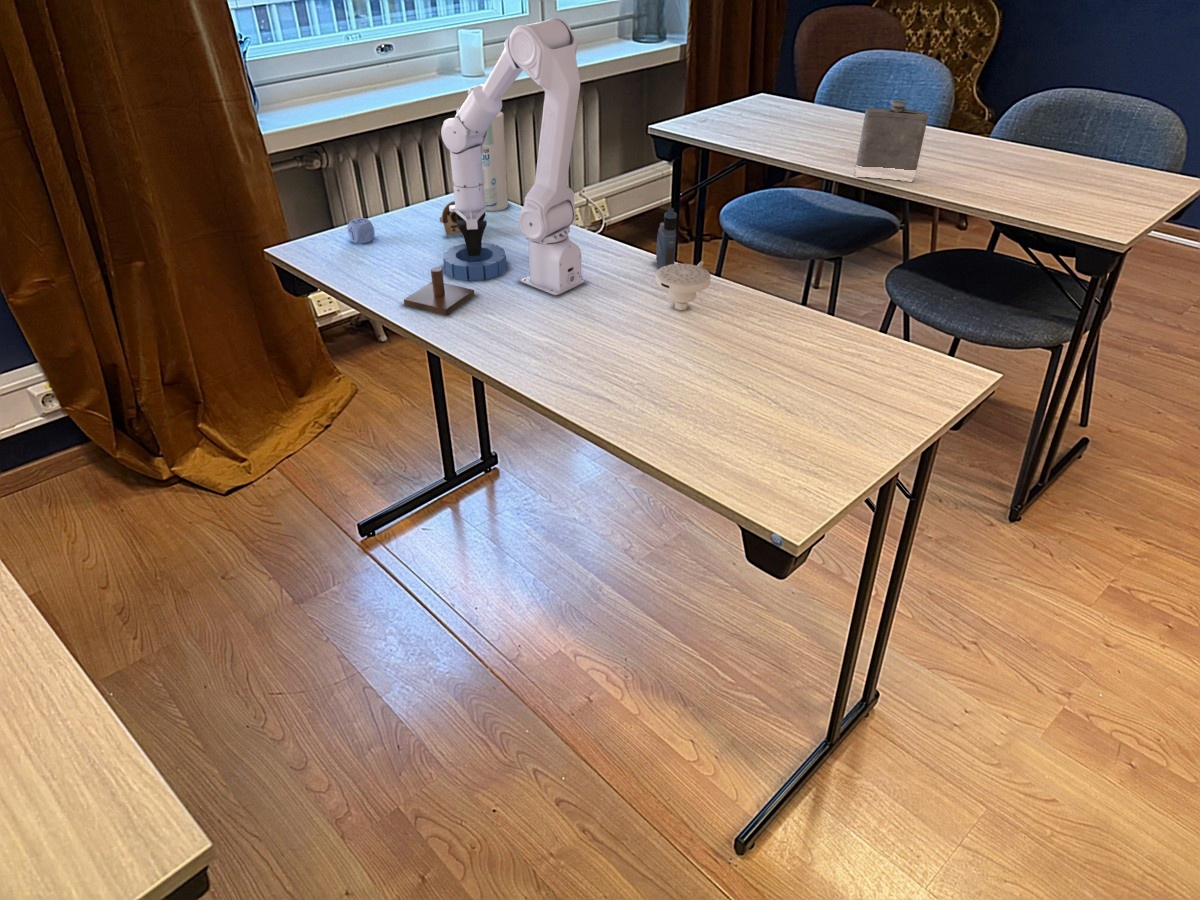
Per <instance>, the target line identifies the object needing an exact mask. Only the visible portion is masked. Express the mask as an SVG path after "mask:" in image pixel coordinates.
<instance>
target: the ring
mask: <svg viewBox="0 0 1200 900" xmlns="http://www.w3.org/2000/svg"><path fill="white" fill-rule="evenodd" d="M442 255H443V257H442V258H443V259H442V260H443V267H444V273H445V274H446V275H447V276H449V277H450V278H452V279H455V280H461V281H466V282H467V281H469V282H473V281H474V282H476V281H484V280H485V281H486V280H490V279H493V278H497V277H499V276H501V275H502V274H503V273H504V272H506V271H507V268H508V267H507V254H506V250H505V248H503V247H501V246H499V245H498V244H497V245H496V244H495V243H490V242H489V243H488V242H482V243H481V252H480V255H479V256H469V254H468V251H467V247H466V244H465V243H461V244H457V245H453V246H452V247H449V248H448V249H447V250H445V251H444V252H443V253H442Z"/></svg>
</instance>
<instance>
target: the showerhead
mask: <svg viewBox="0 0 1200 900" xmlns="http://www.w3.org/2000/svg"><path fill="white" fill-rule="evenodd" d="M704 264H705V262H704V261H702V260H700V262H698V264H697V265H696V264H692V263H691V264H690V263H679V262H677V263H674V264H671V265H667V266H664V267H662V268H660V267H659V269H657V270H656V271H655V282H656V284H657V285H658V287H660V288H661V289H663V290H666V291H667V297H668V299H669V300H670V301H672V302H674V308H675V310H679V311H684V310H687V309H688V304H689V303H691V302H693V301H694V300H695V299H696V296H697V293H698V292H701V291H704V290H706V289H707V288H708V287H709V286H710V284H711V273H710V272H709V271H708V270H707V269H706V268H704V267H702V266H704Z"/></svg>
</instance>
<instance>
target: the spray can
mask: <svg viewBox="0 0 1200 900" xmlns="http://www.w3.org/2000/svg"><path fill="white" fill-rule="evenodd" d="M486 131H487V139H486V142H485V143H484V146H483V151H484V153H483V154H482V167H483V181H484V194H485V204H486V206H487V210H486V211H493V212H494V211H503V210H505V209H507V208H508V207H509V192H508V175H507V173H508V171H507V155H506V135H505V134H506V132H505V117H504V112H503V111H500V112H499V113H498V115H497V116H496V117H495V119H494V120H493V122H492V123H491V124H490V126H489V127H488V129H487V130H486Z"/></svg>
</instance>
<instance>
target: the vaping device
mask: <svg viewBox="0 0 1200 900" xmlns="http://www.w3.org/2000/svg"><path fill="white" fill-rule="evenodd" d="M677 218H678V213H677V212H675V208H673V207H668V208H667V211H665V212H664V216H663V222H660V223H659V227H658V230H657V235H656V257H655V260H656V265H657V266H658V267H659V269H660V268H662V267H664V266H667V265H671V264H675V258H676V242H677Z"/></svg>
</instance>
